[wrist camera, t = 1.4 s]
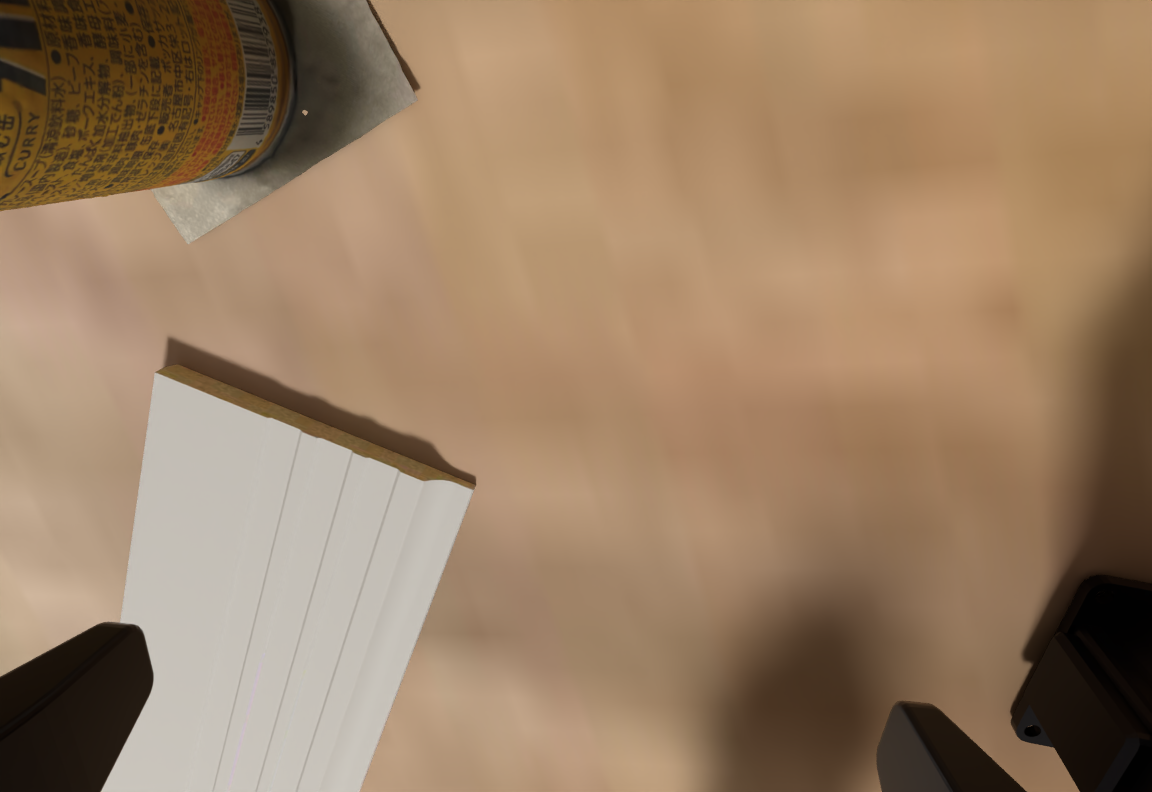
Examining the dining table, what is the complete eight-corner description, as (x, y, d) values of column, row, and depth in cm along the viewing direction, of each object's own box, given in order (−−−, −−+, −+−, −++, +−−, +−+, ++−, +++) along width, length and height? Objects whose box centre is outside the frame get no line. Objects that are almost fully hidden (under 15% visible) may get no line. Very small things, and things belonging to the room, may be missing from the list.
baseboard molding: (521, 492, 24) (186, 355, 23) (501, 541, 21) (122, 388, 21) (322, 972, 36) (101, 887, 36) (294, 1042, 33) (55, 950, 33)
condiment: (27, 1, 19) (-847, -139, 8) (261, -194, 17) (-533, -767, 6) (193, 243, 21) (-329, 392, 10) (422, 100, 19) (63, 93, 8)
